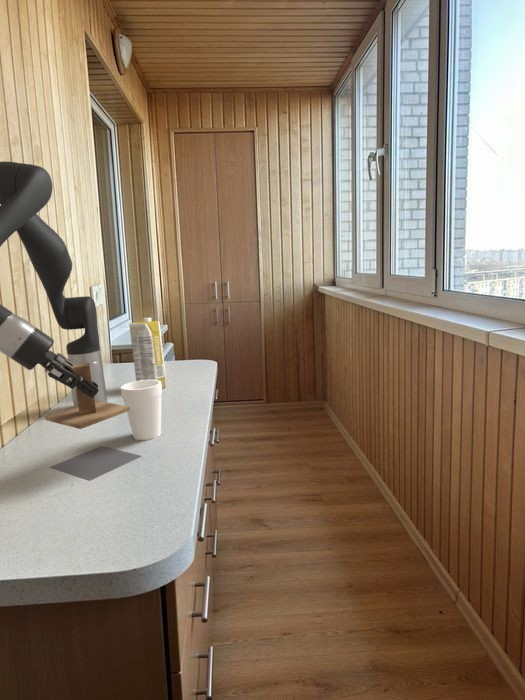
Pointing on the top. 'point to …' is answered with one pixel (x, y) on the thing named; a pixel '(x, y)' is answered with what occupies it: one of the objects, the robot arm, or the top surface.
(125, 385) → the foam cup
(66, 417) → the lid
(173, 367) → the top surface
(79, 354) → the robot arm
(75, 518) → the top surface
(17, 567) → the top surface
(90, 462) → the mat
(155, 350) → the juice carton
